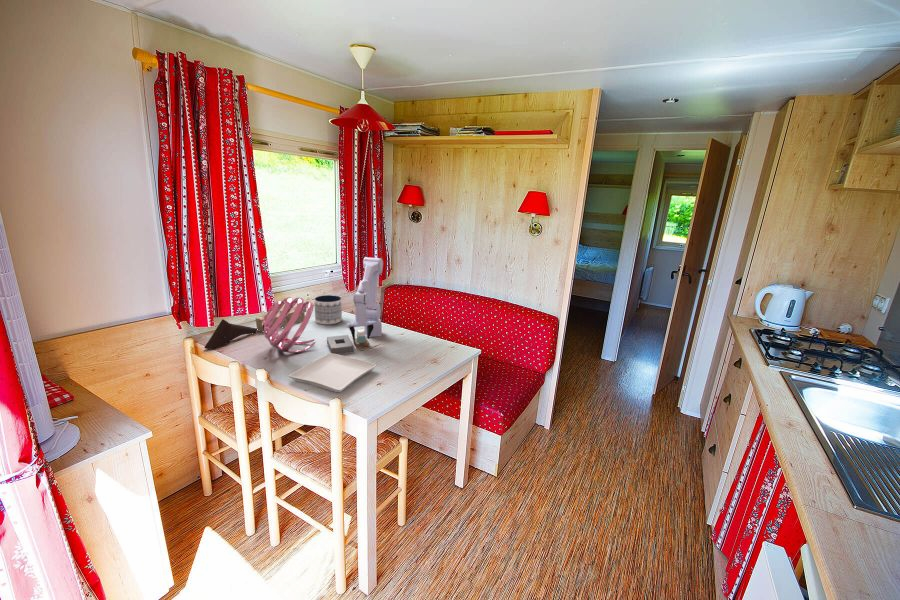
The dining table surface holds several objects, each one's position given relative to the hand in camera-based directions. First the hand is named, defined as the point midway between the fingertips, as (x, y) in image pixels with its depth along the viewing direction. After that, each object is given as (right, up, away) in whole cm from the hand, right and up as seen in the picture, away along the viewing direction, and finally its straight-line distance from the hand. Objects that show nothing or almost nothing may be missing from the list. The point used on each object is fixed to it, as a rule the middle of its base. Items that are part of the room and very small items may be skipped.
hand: (361, 339), depth 202 cm
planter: (-29, +8, +36) cm, 46 cm away
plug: (0, -3, +1) cm, 3 cm away
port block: (-10, -4, -4) cm, 12 cm away
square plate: (-4, -13, -34) cm, 36 cm away
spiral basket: (-34, -4, -8) cm, 35 cm away
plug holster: (0, -3, +1) cm, 3 cm away
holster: (-66, -1, -3) cm, 66 cm away
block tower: (-52, +6, +24) cm, 58 cm away
